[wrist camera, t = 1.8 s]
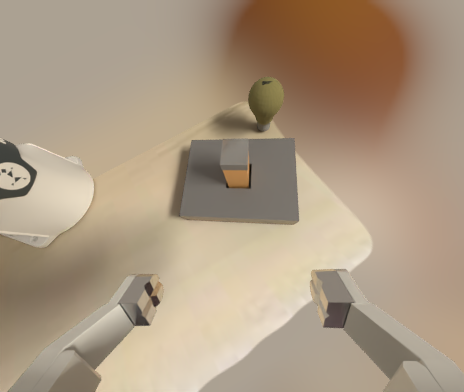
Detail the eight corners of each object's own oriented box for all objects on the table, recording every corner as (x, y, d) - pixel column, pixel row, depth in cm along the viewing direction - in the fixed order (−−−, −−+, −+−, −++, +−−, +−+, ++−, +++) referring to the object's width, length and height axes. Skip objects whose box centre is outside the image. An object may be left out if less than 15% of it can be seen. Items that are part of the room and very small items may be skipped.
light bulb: (257, 145, 33) (258, 102, 24) (244, 124, 35) (241, 77, 25) (282, 133, 33) (294, 85, 24) (269, 113, 35) (275, 62, 26)
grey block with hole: (187, 219, 30) (179, 215, 26) (197, 151, 34) (191, 140, 31) (293, 224, 27) (299, 220, 24) (290, 150, 32) (294, 138, 28)
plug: (230, 192, 30) (220, 164, 20) (231, 173, 31) (222, 139, 22) (249, 192, 30) (247, 164, 20) (249, 173, 31) (248, 138, 21)
